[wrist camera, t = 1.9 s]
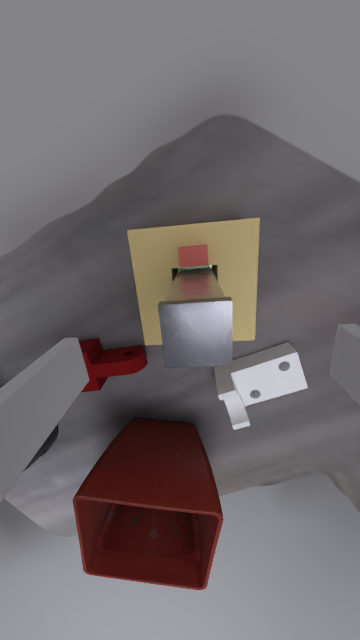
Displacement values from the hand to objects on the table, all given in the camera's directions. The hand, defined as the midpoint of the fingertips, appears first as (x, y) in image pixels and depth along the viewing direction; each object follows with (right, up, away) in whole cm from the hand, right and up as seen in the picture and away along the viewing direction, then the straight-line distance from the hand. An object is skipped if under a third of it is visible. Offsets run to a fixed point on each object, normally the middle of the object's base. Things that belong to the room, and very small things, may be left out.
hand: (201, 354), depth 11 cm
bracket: (+12, -7, +27) cm, 31 cm away
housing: (+1, +8, +22) cm, 23 cm away
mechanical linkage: (-15, -5, +28) cm, 32 cm away
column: (+1, +8, +22) cm, 23 cm away
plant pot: (-5, -24, +35) cm, 42 cm away
